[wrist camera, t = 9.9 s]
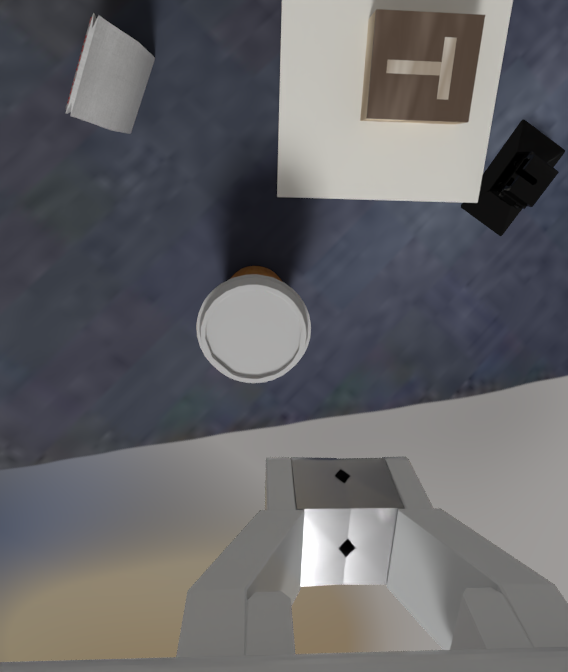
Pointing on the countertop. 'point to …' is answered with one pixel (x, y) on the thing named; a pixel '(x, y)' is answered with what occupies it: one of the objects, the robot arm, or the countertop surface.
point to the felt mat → (371, 136)
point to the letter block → (420, 66)
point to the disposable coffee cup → (253, 326)
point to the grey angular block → (109, 77)
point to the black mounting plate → (515, 177)
